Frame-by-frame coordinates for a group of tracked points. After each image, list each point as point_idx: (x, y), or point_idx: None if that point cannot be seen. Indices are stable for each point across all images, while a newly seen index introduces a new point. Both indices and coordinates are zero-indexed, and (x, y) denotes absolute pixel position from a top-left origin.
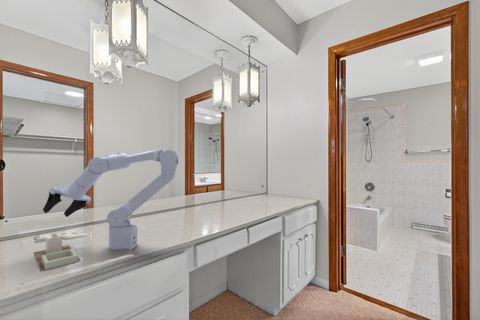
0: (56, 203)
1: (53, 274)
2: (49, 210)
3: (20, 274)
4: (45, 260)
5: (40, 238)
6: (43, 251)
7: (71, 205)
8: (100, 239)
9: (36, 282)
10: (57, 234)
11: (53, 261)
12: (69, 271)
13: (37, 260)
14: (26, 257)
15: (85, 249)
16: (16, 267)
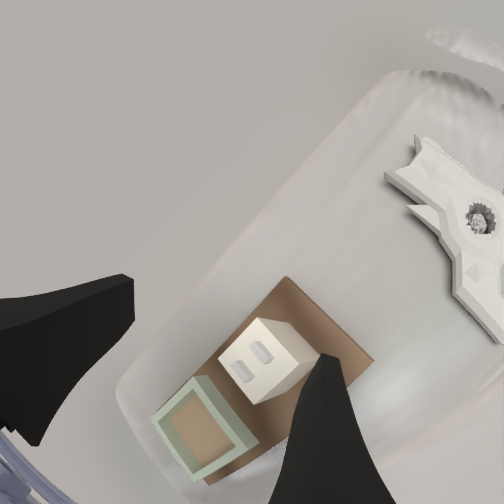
0: (53, 403)
1: None
2: (113, 343)
3: (167, 358)
4: (162, 411)
5: (401, 180)
6: (293, 310)
7: (310, 454)
8: (479, 428)
9: (141, 417)
10: (286, 358)
11: (159, 434)
12: (179, 465)
13: (215, 355)
14: (270, 271)
15: None
16: (201, 312)
